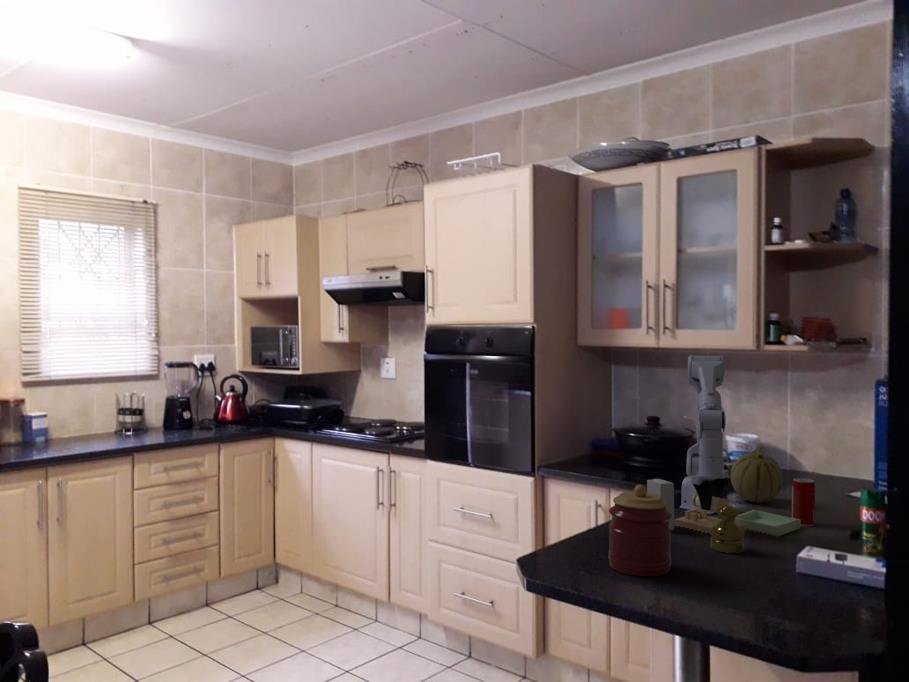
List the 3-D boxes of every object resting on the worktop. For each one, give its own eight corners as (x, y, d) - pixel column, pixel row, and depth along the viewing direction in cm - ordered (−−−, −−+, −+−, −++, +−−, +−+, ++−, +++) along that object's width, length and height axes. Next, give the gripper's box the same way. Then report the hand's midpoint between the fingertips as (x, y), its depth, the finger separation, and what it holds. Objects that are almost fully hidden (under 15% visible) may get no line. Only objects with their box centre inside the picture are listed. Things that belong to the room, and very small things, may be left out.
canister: (661, 582, 139) (662, 494, 139) (599, 570, 146) (600, 486, 146) (677, 564, 150) (679, 483, 150) (619, 553, 157) (620, 476, 157)
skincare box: (675, 530, 176) (676, 482, 176) (660, 531, 175) (661, 484, 175) (660, 524, 182) (660, 478, 182) (645, 525, 181) (646, 479, 180)
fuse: (691, 507, 181) (691, 493, 181) (698, 505, 183) (699, 491, 183) (721, 513, 174) (721, 500, 174) (728, 511, 177) (728, 498, 176)
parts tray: (728, 525, 182) (728, 516, 182) (752, 517, 190) (752, 509, 190) (777, 536, 172) (777, 527, 172) (800, 528, 180) (800, 519, 180)
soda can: (817, 527, 181) (818, 481, 181) (794, 526, 182) (795, 480, 182) (811, 521, 186) (811, 477, 186) (789, 520, 187) (789, 476, 187)
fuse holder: (674, 525, 181) (674, 511, 181) (695, 519, 187) (695, 505, 187) (724, 537, 170) (725, 523, 170) (745, 531, 176) (745, 516, 176)
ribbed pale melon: (757, 494, 218) (758, 447, 217) (794, 505, 204) (795, 455, 203) (719, 497, 213) (719, 449, 213) (753, 509, 199) (754, 457, 199)
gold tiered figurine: (728, 556, 156) (729, 512, 156) (703, 546, 163) (703, 504, 163) (751, 551, 160) (752, 508, 159) (725, 542, 166) (726, 501, 166)
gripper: (709, 461, 171) (709, 516, 171) (739, 455, 180) (738, 507, 180) (684, 457, 176) (683, 510, 176) (714, 451, 185) (713, 501, 186)
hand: (709, 508), depth 179 cm, fingers closed on fuse, 3 cm apart
